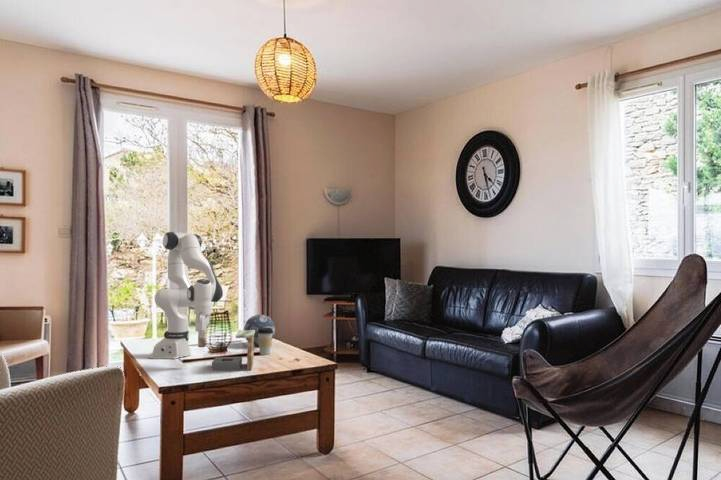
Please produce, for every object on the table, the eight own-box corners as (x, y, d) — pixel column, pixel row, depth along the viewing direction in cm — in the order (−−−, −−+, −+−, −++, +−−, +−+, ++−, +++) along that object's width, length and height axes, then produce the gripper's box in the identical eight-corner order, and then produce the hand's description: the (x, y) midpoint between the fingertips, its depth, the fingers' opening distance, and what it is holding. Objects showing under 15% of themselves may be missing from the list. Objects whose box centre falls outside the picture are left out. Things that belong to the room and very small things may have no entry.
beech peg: (197, 347, 256) (197, 324, 256) (198, 345, 260) (199, 323, 260) (205, 347, 257) (205, 324, 257) (206, 345, 261) (207, 323, 261)
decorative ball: (281, 345, 318) (282, 314, 318) (258, 350, 301) (259, 317, 301) (259, 341, 329) (260, 311, 329) (236, 346, 312) (237, 314, 312)
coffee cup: (253, 355, 288) (254, 329, 288) (261, 351, 297) (262, 327, 297) (268, 356, 285) (268, 330, 285) (275, 353, 294) (276, 328, 294)
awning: (235, 371, 251) (235, 335, 252) (238, 363, 267) (239, 330, 267) (251, 370, 253) (252, 335, 253) (254, 363, 268) (254, 330, 269)
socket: (211, 370, 252) (211, 362, 252) (215, 364, 264) (215, 357, 264) (239, 369, 254) (239, 362, 254) (241, 364, 266) (242, 356, 266)
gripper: (205, 313, 248) (204, 341, 249) (212, 307, 269) (211, 332, 269) (192, 313, 247) (191, 341, 248) (200, 307, 268) (199, 332, 268)
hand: (202, 336), depth 258 cm, fingers closed on beech peg, 4 cm apart
